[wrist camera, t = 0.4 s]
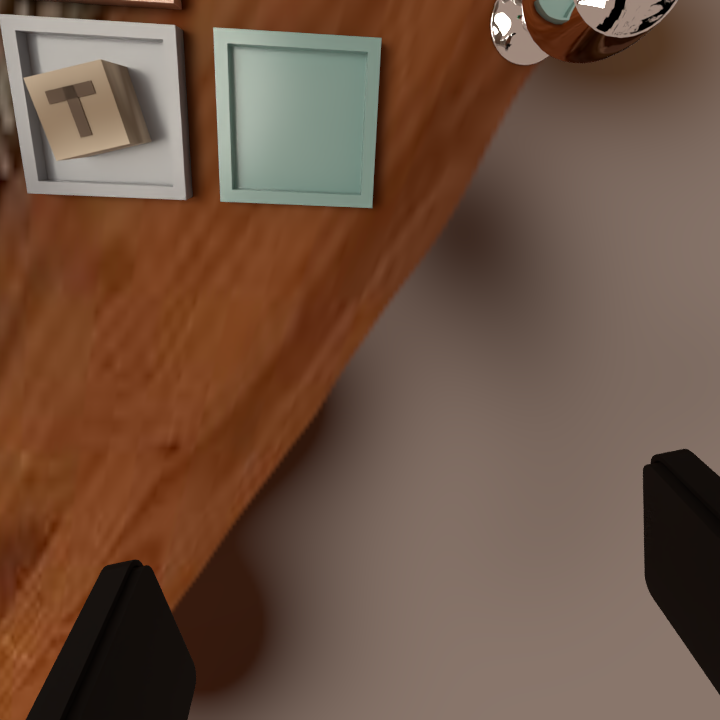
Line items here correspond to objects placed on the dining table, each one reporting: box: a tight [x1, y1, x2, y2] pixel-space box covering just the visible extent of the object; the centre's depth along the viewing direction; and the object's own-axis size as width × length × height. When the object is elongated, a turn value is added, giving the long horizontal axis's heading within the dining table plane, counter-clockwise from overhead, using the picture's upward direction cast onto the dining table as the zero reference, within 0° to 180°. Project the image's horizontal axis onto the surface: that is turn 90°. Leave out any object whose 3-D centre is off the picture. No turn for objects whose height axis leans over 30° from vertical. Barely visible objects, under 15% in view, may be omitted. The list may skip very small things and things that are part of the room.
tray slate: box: [0, 14, 193, 200], centre depth 33 cm, size 9×9×2 cm
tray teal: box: [213, 28, 381, 208], centre depth 33 cm, size 9×9×2 cm
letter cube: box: [24, 59, 152, 161], centre depth 31 cm, size 4×4×4 cm
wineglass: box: [490, 0, 678, 66], centre depth 27 cm, size 6×6×12 cm
